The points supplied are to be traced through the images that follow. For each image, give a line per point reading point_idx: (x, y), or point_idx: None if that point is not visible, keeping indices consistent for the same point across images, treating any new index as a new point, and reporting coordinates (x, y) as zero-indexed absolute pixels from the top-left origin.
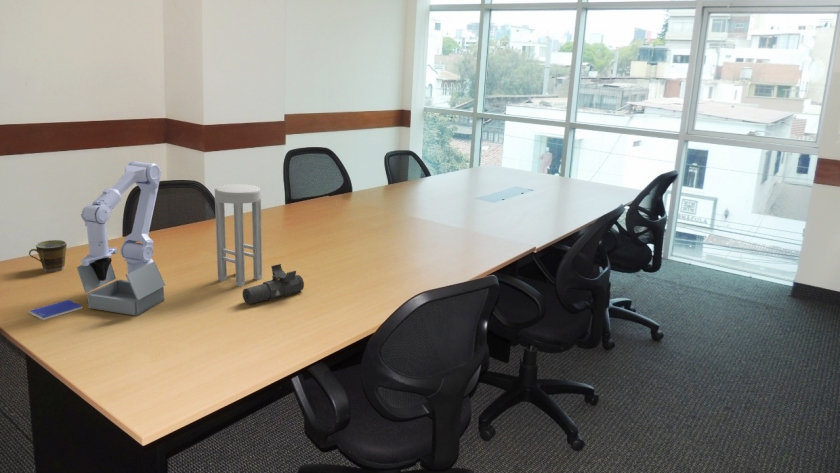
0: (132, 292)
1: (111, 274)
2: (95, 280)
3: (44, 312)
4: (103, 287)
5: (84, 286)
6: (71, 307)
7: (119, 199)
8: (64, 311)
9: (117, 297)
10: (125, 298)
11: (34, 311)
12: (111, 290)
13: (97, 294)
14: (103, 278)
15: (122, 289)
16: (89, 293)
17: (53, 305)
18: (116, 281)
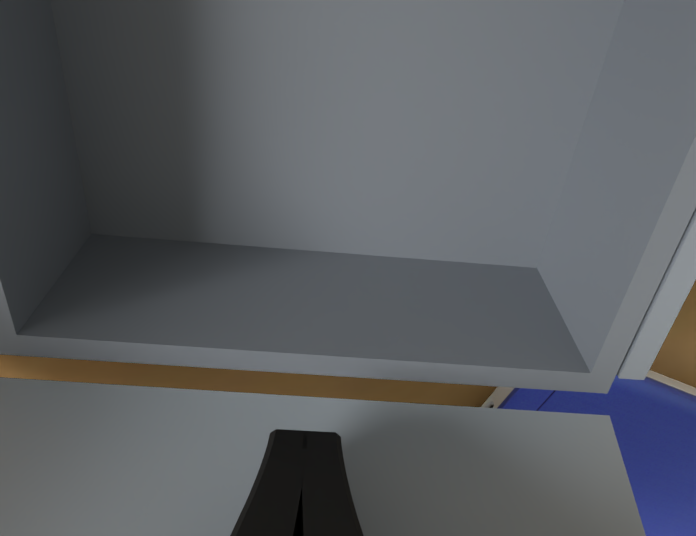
0: (35, 29)
1: (19, 472)
2: (400, 512)
3: None
4: (331, 354)
5: (637, 510)
6: (612, 392)
7: None
8: (686, 395)
9: (222, 161)
10: (211, 40)
11: None
12: (193, 282)
13: (452, 324)
14: (341, 464)
15: (59, 201)
16: (594, 383)
17: None
18: (41, 334)
